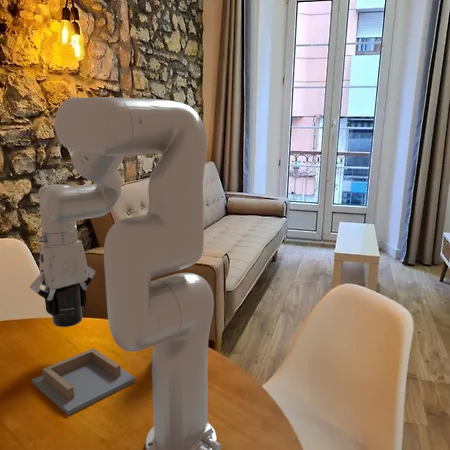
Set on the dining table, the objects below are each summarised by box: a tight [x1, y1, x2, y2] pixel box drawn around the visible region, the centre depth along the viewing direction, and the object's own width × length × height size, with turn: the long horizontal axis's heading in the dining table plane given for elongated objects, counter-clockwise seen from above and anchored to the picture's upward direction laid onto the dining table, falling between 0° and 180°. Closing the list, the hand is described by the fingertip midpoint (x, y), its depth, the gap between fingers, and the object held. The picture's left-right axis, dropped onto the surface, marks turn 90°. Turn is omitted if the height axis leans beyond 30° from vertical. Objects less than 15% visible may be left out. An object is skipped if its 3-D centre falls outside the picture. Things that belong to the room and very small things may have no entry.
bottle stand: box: [31, 348, 137, 416], centre depth 96 cm, size 16×16×4 cm
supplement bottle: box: [51, 284, 83, 328], centre depth 105 cm, size 7×7×12 cm
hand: (67, 308), depth 106 cm, fingers closed on supplement bottle, 6 cm apart
